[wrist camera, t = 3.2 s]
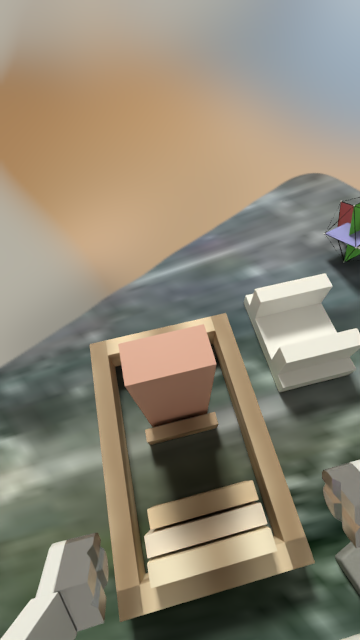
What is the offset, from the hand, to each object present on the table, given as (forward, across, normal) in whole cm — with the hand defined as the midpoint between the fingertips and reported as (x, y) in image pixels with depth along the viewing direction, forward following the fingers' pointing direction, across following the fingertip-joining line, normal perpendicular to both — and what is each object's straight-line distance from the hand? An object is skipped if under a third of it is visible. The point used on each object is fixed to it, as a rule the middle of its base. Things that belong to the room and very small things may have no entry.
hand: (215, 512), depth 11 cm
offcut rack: (+14, +1, +8) cm, 17 cm away
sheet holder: (+20, -12, +3) cm, 23 cm away
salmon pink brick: (+17, +1, +6) cm, 18 cm away
